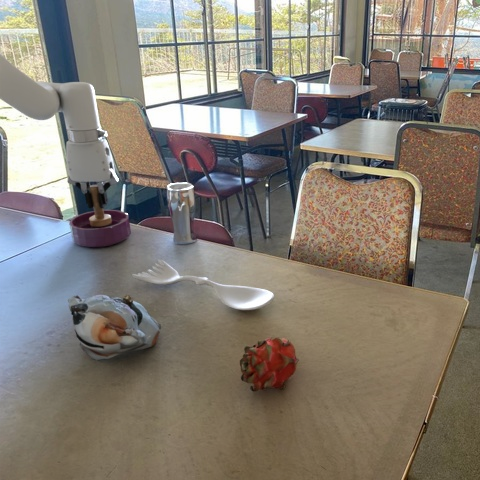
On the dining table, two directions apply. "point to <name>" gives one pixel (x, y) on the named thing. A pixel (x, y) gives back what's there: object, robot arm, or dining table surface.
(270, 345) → the dragon fruit
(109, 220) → the dish brush
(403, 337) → the dining table surface
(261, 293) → the spoon
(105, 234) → the bowl
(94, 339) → the lucky cat figurine
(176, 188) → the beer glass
